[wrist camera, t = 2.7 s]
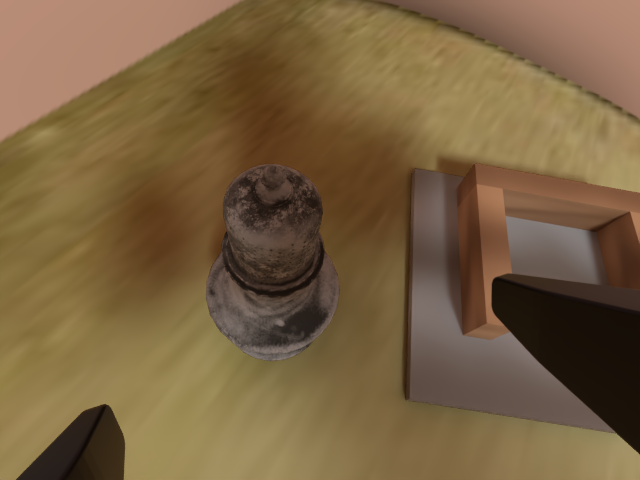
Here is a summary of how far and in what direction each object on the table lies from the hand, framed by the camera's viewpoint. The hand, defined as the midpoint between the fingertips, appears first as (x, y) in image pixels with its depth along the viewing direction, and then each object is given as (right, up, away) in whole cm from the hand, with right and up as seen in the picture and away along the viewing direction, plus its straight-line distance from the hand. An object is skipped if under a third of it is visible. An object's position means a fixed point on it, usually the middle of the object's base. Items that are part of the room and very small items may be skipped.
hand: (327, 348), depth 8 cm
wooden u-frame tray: (+15, -1, +14) cm, 20 cm away
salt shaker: (-3, -1, +11) cm, 12 cm away
